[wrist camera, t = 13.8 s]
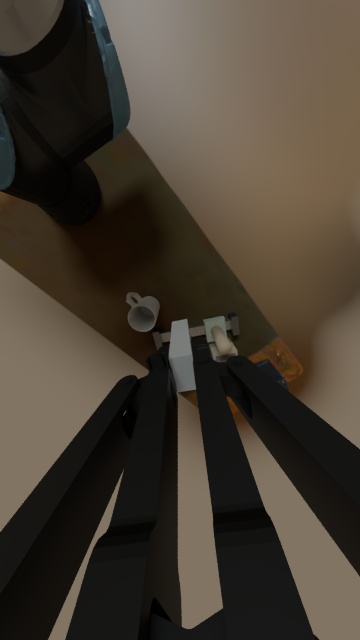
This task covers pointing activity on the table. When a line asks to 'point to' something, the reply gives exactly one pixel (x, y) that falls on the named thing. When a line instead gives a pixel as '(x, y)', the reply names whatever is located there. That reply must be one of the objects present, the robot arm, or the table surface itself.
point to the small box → (272, 372)
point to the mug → (142, 312)
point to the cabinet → (217, 355)
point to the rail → (196, 330)
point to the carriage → (217, 333)
